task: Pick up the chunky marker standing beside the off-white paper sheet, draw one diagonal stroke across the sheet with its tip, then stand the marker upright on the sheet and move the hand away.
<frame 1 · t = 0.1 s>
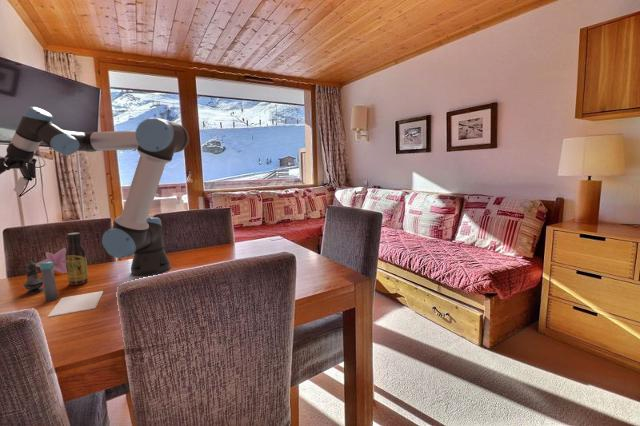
paper: (78, 303, 106), on the table
sauce bottle: (79, 283, 126), on the table
lily: (57, 273, 140), on the table
dark grey chess piece: (35, 291, 118), on the table
marker: (51, 299, 110), on the table
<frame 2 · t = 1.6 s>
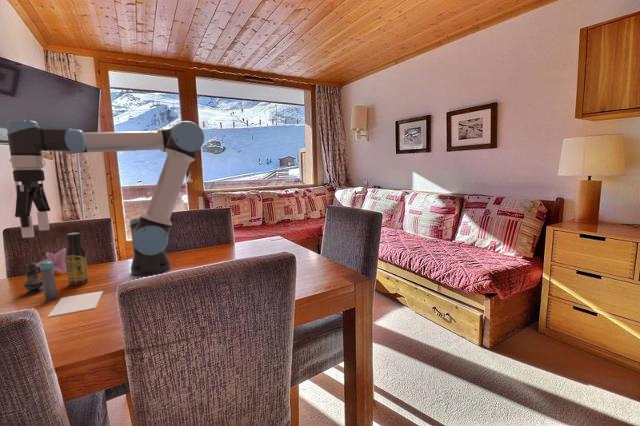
hand: (36, 233, 107), 23 cm above the table, tool pointing down, fingers open, 13 cm apart
nothing on the table moved.
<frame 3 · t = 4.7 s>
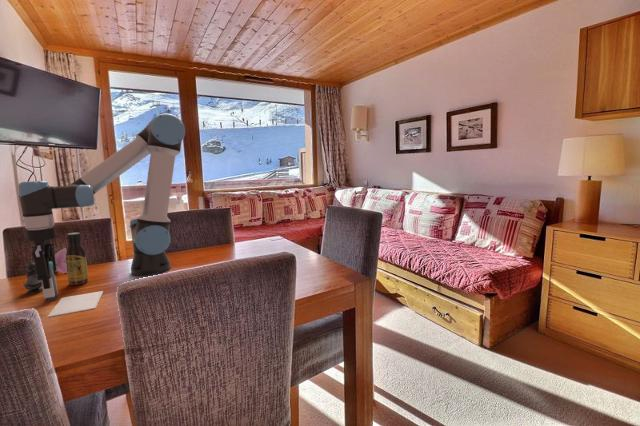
hand: (51, 295, 110), 2 cm above the table, tool pointing down, fingers closed on marker, 3 cm apart
marker: (51, 299, 110), on the table, touching gripper
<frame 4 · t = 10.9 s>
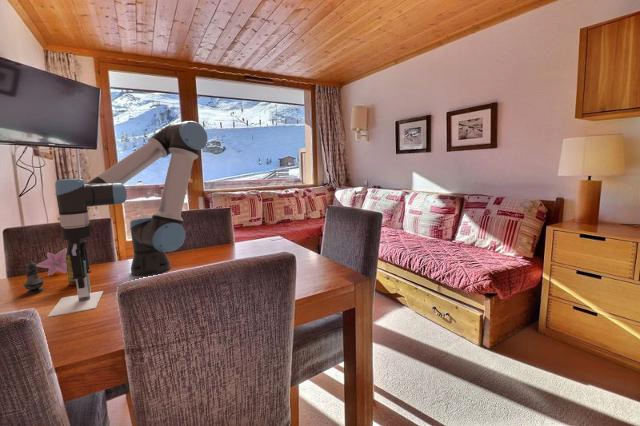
hand: (84, 294, 108), 2 cm above the table, tool pointing down, fingers closed on marker, 3 cm apart
marker: (84, 299, 108), resting on paper, touching gripper
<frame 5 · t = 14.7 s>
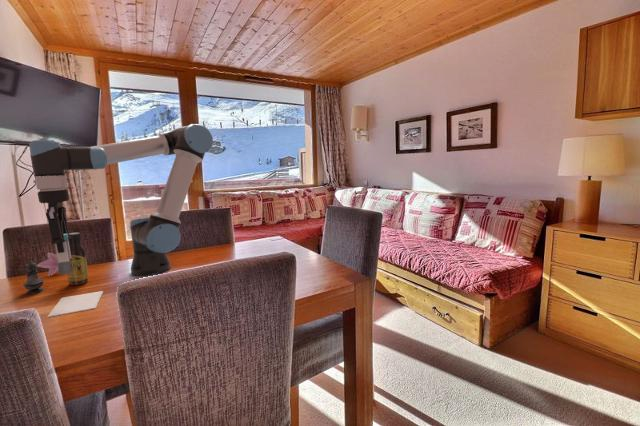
hand: (65, 260, 106), 14 cm above the table, tool pointing down, fingers closed on marker, 3 cm apart
marker: (64, 272, 107), point 10 cm above the table, touching gripper
when the fingers open (3 cm above the table, at t = 17.2 s): marker stays where it is, resting on paper.
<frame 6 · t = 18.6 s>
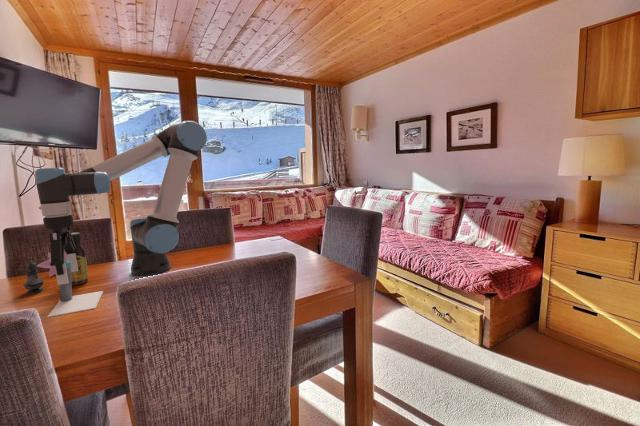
hand: (68, 277, 108), 8 cm above the table, tool pointing down, fingers open, 13 cm apart
marker: (66, 299, 108), resting on paper
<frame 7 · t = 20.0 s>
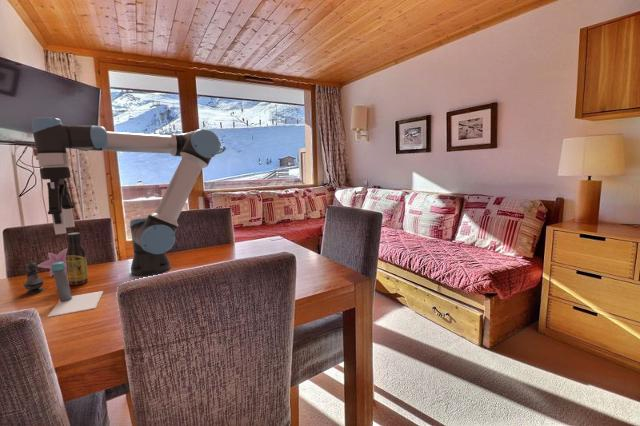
hand: (65, 230, 108), 24 cm above the table, tool pointing down, fingers open, 13 cm apart
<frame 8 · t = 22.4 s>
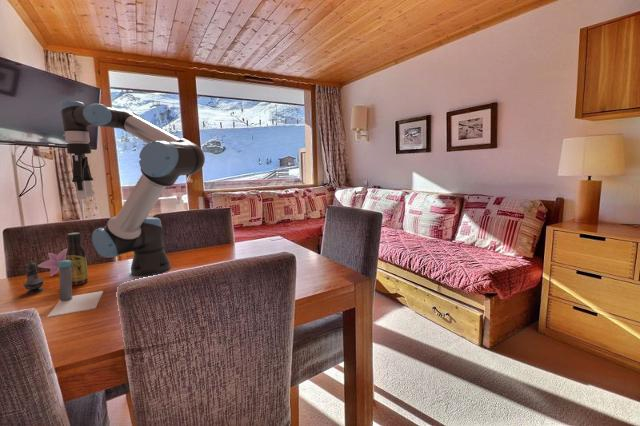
hand: (85, 197, 127), 33 cm above the table, tool pointing down, fingers open, 13 cm apart
at the end: marker inside the target area on the paper (6.4 cm from its centre), point 0.5 cm above the paper's base; marker tilted 7°; the gripper is holding nothing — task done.
